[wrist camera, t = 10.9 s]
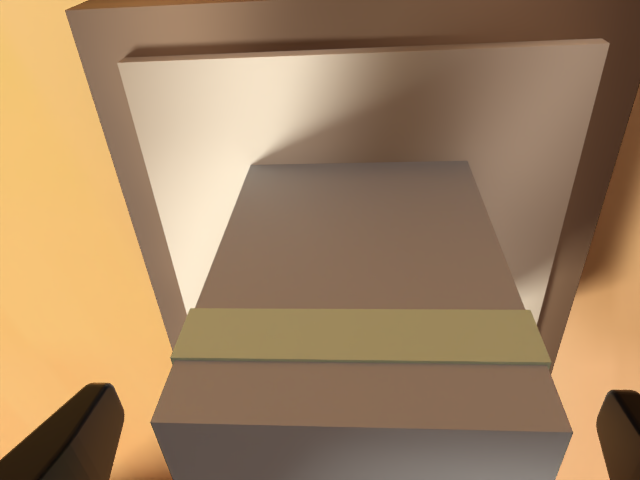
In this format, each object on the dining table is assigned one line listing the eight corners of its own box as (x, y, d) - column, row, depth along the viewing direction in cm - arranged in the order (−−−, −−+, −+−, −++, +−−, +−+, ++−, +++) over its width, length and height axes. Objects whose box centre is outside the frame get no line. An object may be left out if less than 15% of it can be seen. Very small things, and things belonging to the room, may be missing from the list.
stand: (597, -42, 13) (681, -16, 9) (517, 315, 19) (549, 403, 16) (128, -18, 14) (55, 14, 10) (209, 314, 20) (180, 396, 17)
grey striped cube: (469, 158, 12) (579, 429, 6) (449, 322, 14) (508, 611, 9) (248, 162, 12) (144, 420, 6) (271, 321, 15) (215, 595, 9)
